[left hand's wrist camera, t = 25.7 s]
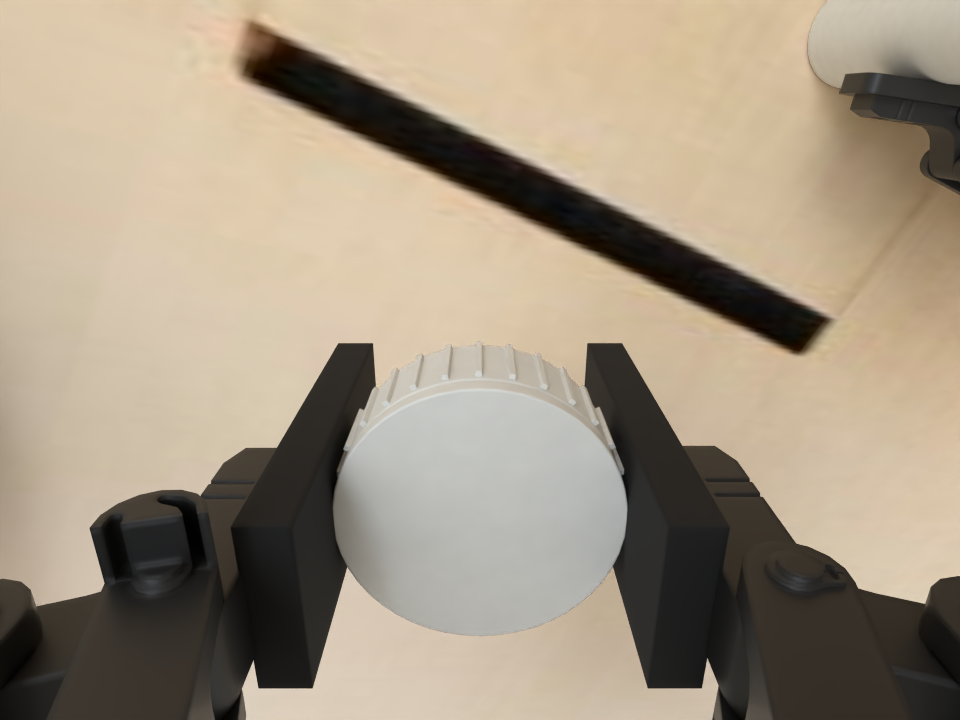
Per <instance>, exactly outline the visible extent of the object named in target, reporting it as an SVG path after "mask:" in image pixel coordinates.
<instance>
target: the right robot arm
mask: <svg viewBox="0 0 960 720" xmlns="http://www.w3.org/2000/svg"><path fill="white" fill-rule="evenodd" d="M839 94H843V95H849V96H854V98H853V101H852V104H851V107H850V110H852V111H853V112H855V113H856V114H858V115H859V116H860V117H867V118H873V119H880V120H887V121H893V122H900V123H906V124H913V125H919V126H921V127H923V128H925V129H926V130H927V132H928V134H929V137H930V150H929V151H927V152H926V153H925V155H924V156H923V157H922V159H921V162H920V170H921V172H922V174H923V175H924V176H926V177H928V178H930V179H932V180H933V181H935V182H937V183H939V184H941V185H943V186H944V187H946V188H948V189H950V190H952V191H954V192H955V193H957V194H959V195H960V85H954V84H946V83H941V82H935V81H929V80H923V79H916V78H910V77H903V76H897V75H890V74H884V73H873V72H864V73H851V74H845V77H844V80H843V83H842V86H841V89H840V92H839Z"/></svg>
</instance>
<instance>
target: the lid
mask: <svg viewBox="0 0 960 720" xmlns="http://www.w3.org/2000/svg"><path fill="white" fill-rule="evenodd" d="M343 450H345V451H344V453H343V456H342V458H341V461H340V464H339V466H338V469H337V477H338V479H337V482H336V486H335V489H334V495H333V517H334V527H335V536H336V541H337V544H338V547H339V550H340V553H341V555H342V557H343V559H344V561H345V563H346V565H347V567H348V569H349V570H350V571H351V573H352V574H353V576H354V577H355V579H356V580H357V581H358V583H359V584H360V585H361V586H362V587H363V588H364V589H365V590H366V591H367V592H368V593H369V594H370V595H371V596H372V597H373V598H374V599H376V600H377V601H378V602H379V603H380V604H382V605H383V606H385V607H386V608H388V609H389V610H391V611H392V612H394V613H395V614H397V615H399V616H401V617H403V618H405V619H407V620H409V621H411V622H413V623H416V624H419V625H421V626H424V627H427V628H430V629H434V630H438V631H441V632H445V633H452V634H459V635H471V636H489V635H501V634H508V633H514V632H519V631H523V630H526V629H530V628H534V627H536V626H539V625H542V624H544V623H547V622H549V621H551V620H553V619H555V618H557V617H559V616H561V615H563V614H565V613H566V612H568V611H569V610H571V609H572V608H574V607H575V606H577V605H579V604H580V603H581V602H582V601H583V600H584V599H586V598H587V597H588V596H589V595H590V594H591V593H592V592H593V591H594V590H595V589H596V588H597V587H598V586H599V585H600V584H601V583H602V581H603V580H604V579H605V577H606V576H607V574H608V573H609V571H610V570H611V569H612V567H613V565H614V563H615V561H616V559H617V557H618V555H619V553H620V550H621V547H622V544H623V541H624V538H625V531H626V521H627V510H628V503H627V495H626V489H625V485H624V482H623V479H622V475H624V468H623V465H622V463H621V460H620V458H619V455H618V453H617V450H616V447H615V444H614V441H613V439H612V436H611V434H610V431H609V429H608V426H607V424H606V421H605V419H604V416H603V413H602V411H601V409H600V407H598V408H595V407H594V406H593V404H592V402H591V399H590V396H589V393H588V391H587V388H586V387H585V386H584V385H582V386H581V387H579V386H578V385H577V384H576V383H575V382H574V381H573V380H572V379H571V378H570V377H569V376H568V373H567V370H566V369H565V368H564V367H561V368H560V369H558V368H556V367H555V366H553V365H552V364H550V363H548V362H547V361H544V360H542V356H541V354H538V353H535V355H531V354H528V353H525V352H522V351H519V350H515V349H513V346H512V345H509V344H506V348H505V347H499V346H486V345H482V342H476V345H474V346H461V347H455V348H452V345H446V346H445V350H441V351H438V352H435V353H432V354H429V355H426V356H423V354H419V355H417V357H416V361H414V362H412V363H410V364H408V365H407V366H405V367H404V368H402V369H401V370H398V369H397V368H395V369H394V370H392V373H391V376H390V378H389V379H388V380H387V381H386V382H385V383H384V384H383V385H382V386H381V387H380V388H379V389H378V388H377V387H374V388H373V390H372V392H371V394H370V397H369V400H368V402H367V405H366V407H365V409H364V410H362V409H359V411H358V413H357V416H356V418H355V421H354V423H353V426H352V428H351V431H350V433H349V436H348V438H347V441H346V444H345V446H344V449H343Z"/></svg>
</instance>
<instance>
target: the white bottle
mask: <svg viewBox="0 0 960 720" xmlns="http://www.w3.org/2000/svg"><path fill="white" fill-rule="evenodd" d="M808 56H809V60H810V63H811V66H812V68H813V70H814V72H815V73H816V75H817V76H818V77H819V78H820V79H821V80H822V81H823V82H825V83H827V84H828V85H830V86H833V87H836V88H841V86H842V83H843V80H844V77H845V74H851V73H864V72H873V73H884V74H890V75H897V76H903V77H910V78H916V79H923V80H929V81H935V82H941V83H946V84H954V85H959V84H960V0H828V1H827V2H826V3H825V4H824V5H823V7H822V8H821V9H820V11H819V12H818V14H817V16H816V17H815V19H814V22H813V24H812V27H811V29H810V33H809V38H808Z"/></svg>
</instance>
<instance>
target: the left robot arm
mask: <svg viewBox="0 0 960 720" xmlns="http://www.w3.org/2000/svg"><path fill="white" fill-rule="evenodd" d="M374 387H376V383H375V368H374V353H373V343H338V345H337V347H336V348H335V350H334V352H333V353H332V355H331V357H330V359H329V360H328V362H327V364H326V365H325V367H324V369H323V370H322V372H321V374H320V376H319V377H318V379H317V381H316V382H315V384H314V386H313V388H312V389H311V391H310V393H309V394H308V396H307V398H306V399H305V401H304V403H303V405H302V406H301V408H300V410H299V411H298V413H297V415H296V416H295V418H294V420H293V422H292V423H291V425H290V427H289V428H288V430H287V432H286V433H285V435H284V437H283V439H282V440H281V442H280V444H279V445H278V447H277V448H245V449H244V450H242V451H241V452H239V453H238V454H237V455H235V456H234V457H232V458H231V459H229V460H228V461H226V462H225V463H224V464H223V465H222V466H221V468H220V469H219V471H218V472H217V473H216V475H215V476H214V478H213V479H212V480H211V484H209V485H208V486H207V487H206V489H205V490H204V492H203V493H202V494H201V496H199V495H198V494H196V493H192V492H188V491H184V490H161V491H156V492H151V493H147V494H142V495H138V496H136V497H133V498H131V499H128V500H126V501H123V502H121V503H118V504H117V505H115V506H114V507H112V508H111V509H109V510H108V511H106V512H105V513H103V514H101V515H100V516H99V518H98V519H97V520H96V521H95V522H94V523H93V525H92V526H91V527H90V532H91V535H92V539H93V542H94V546H95V550H96V553H97V557H98V561H99V564H100V568H101V572H102V575H103V579H104V583H105V584H104V586H103V589H102V591H101V592H98V593H95V594H91V595H88V596H83V597H79V598H74V599H70V600H65V601H60V602H56V603H51V604H46V605H42V606H37V607H36V605H35V602H34V599H33V596H32V593H31V590H30V589H29V588H28V587H27V586H25V585H24V584H23V583H22V582H20V581H13V580H7V579H0V720H246V711H245V703H244V697H243V692H242V687H243V684H244V682H245V679H246V677H247V674H248V672H249V670H250V667H251V665H252V662H253V660H254V665H255V671H256V676H257V682H258V688H313V685H314V681H315V678H316V674H317V671H318V667H319V664H320V660H321V657H322V653H323V650H324V646H325V643H326V639H327V636H328V632H329V629H330V625H331V622H332V618H333V615H334V611H335V608H336V604H337V601H338V597H339V594H340V590H341V587H342V583H343V580H344V576H345V573H346V569H347V565H346V563H345V561H344V559H343V557H342V555H341V553H340V550H339V547H338V544H337V541H336V536H335V527H334V517H333V495H334V489H335V486H336V482H337V479H338V477H337V469H338V466H339V464H340V461H341V458H342V456H343V453H344V451H345V450H343V449H344V446H345V444H346V441H347V438H348V436H349V433H350V431H351V428H352V426H353V423H354V421H355V418H356V416H357V413H358V411H359V409H362V410H364V409H365V407H366V405H367V402H368V400H369V397H370V394H371V392H372V390H373V388H374ZM585 387H586V388H587V391H588V393H589V396H590V399H591V402H592V404H593V406H594V407H595V408H598V407H600V409H601V411H602V413H603V416H604V419H605V421H606V424H607V426H608V429H609V431H610V434H611V436H612V439H613V441H614V444H615V447H616V450H617V453H618V455H619V458H620V460H621V463H622V465H623V468H624V475H622V479H623V482H624V485H625V489H626V495H627V503H628V510H627V521H626V531H625V538H624V541H623V544H622V547H621V550H620V553H619V555H618V557H617V559H616V561H615V563H614V565H613V568H614V571H615V575H616V578H617V582H618V585H619V589H620V592H621V596H622V599H623V603H624V606H625V610H626V613H627V617H628V620H629V624H630V627H631V631H632V634H633V638H634V641H635V645H636V648H637V652H638V655H639V659H640V662H641V666H642V669H643V673H644V676H645V680H646V683H647V687H648V688H702V684H703V679H704V673H705V667H706V662H707V658H708V660H709V663H710V665H711V668H712V670H713V673H714V675H715V677H716V680H717V682H718V685H719V687H718V692H717V697H716V703H715V708H714V713H713V719H712V720H960V576H956V577H950V578H943V579H940V580H939V581H938V582H936V583H935V584H934V585H933V586H932V587H931V588H930V591H929V594H928V597H927V600H926V603H925V604H922V603H918V602H913V601H908V600H904V599H899V598H894V597H890V596H885V595H880V594H876V593H872V592H869V591H865V590H862V589H858V587H857V585H856V583H855V581H854V580H853V579H852V577H851V576H850V574H849V573H848V572H847V570H846V569H845V568H844V567H842V566H841V565H840V564H839V563H837V562H836V561H835V560H833V559H832V558H831V557H829V556H827V555H825V554H823V553H821V552H819V551H817V550H814V549H812V548H810V547H807V546H803V545H799V544H796V543H795V541H794V540H793V539H792V537H791V536H790V534H789V533H788V532H787V530H786V529H785V527H784V526H783V525H782V523H781V522H780V520H779V519H778V518H777V516H776V515H775V513H774V512H773V511H772V509H771V508H770V506H769V505H768V504H767V502H766V501H765V499H764V498H763V497H760V492H759V491H758V490H757V488H756V487H755V485H754V484H753V483H752V482H750V478H749V477H748V476H747V474H746V473H745V471H744V470H743V469H742V467H741V466H740V464H739V463H738V462H737V461H736V460H735V459H733V458H732V457H730V456H729V455H727V454H726V453H724V452H723V451H721V450H720V449H718V448H717V447H715V446H682V445H681V443H680V441H679V439H678V438H677V436H676V434H675V433H674V431H673V429H672V428H671V426H670V424H669V422H668V421H667V419H666V417H665V416H664V414H663V412H662V411H661V409H660V407H659V405H658V404H657V402H656V400H655V399H654V397H653V395H652V394H651V392H650V390H649V388H648V387H647V385H646V383H645V382H644V380H643V378H642V377H641V375H640V373H639V371H638V370H637V368H636V366H635V365H634V363H633V361H632V360H631V358H630V356H629V354H628V353H627V351H626V349H625V348H624V346H623V344H622V343H588V344H587V359H586V374H585Z"/></svg>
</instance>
